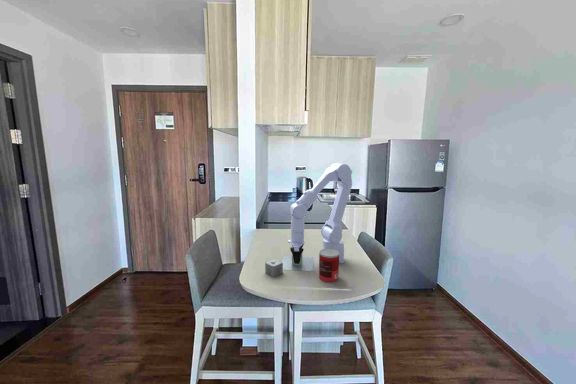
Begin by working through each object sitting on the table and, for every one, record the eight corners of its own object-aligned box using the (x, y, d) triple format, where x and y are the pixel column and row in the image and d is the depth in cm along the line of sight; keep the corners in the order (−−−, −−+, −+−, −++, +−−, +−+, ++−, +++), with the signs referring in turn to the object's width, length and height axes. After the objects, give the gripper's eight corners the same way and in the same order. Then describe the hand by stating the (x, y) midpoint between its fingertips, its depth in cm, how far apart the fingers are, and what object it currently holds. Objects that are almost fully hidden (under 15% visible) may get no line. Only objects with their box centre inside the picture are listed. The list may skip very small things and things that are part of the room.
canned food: (336, 273, 111) (337, 248, 109) (340, 283, 103) (341, 256, 101) (317, 274, 110) (318, 248, 109) (320, 283, 102) (321, 256, 101)
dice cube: (265, 274, 110) (265, 262, 109) (274, 270, 114) (274, 259, 113) (273, 278, 107) (273, 266, 106) (282, 274, 110) (282, 262, 109)
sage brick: (302, 261, 121) (302, 251, 121) (302, 265, 117) (302, 255, 116) (292, 260, 122) (292, 251, 121) (291, 265, 117) (291, 255, 116)
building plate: (312, 258, 126) (312, 257, 126) (313, 272, 112) (313, 270, 112) (282, 257, 127) (282, 256, 127) (279, 270, 113) (279, 269, 113)
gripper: (289, 226, 124) (289, 254, 127) (286, 236, 110) (286, 267, 112) (304, 226, 124) (304, 254, 126) (304, 236, 110) (303, 268, 112)
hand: (297, 260), depth 119 cm, fingers open, 5 cm apart
